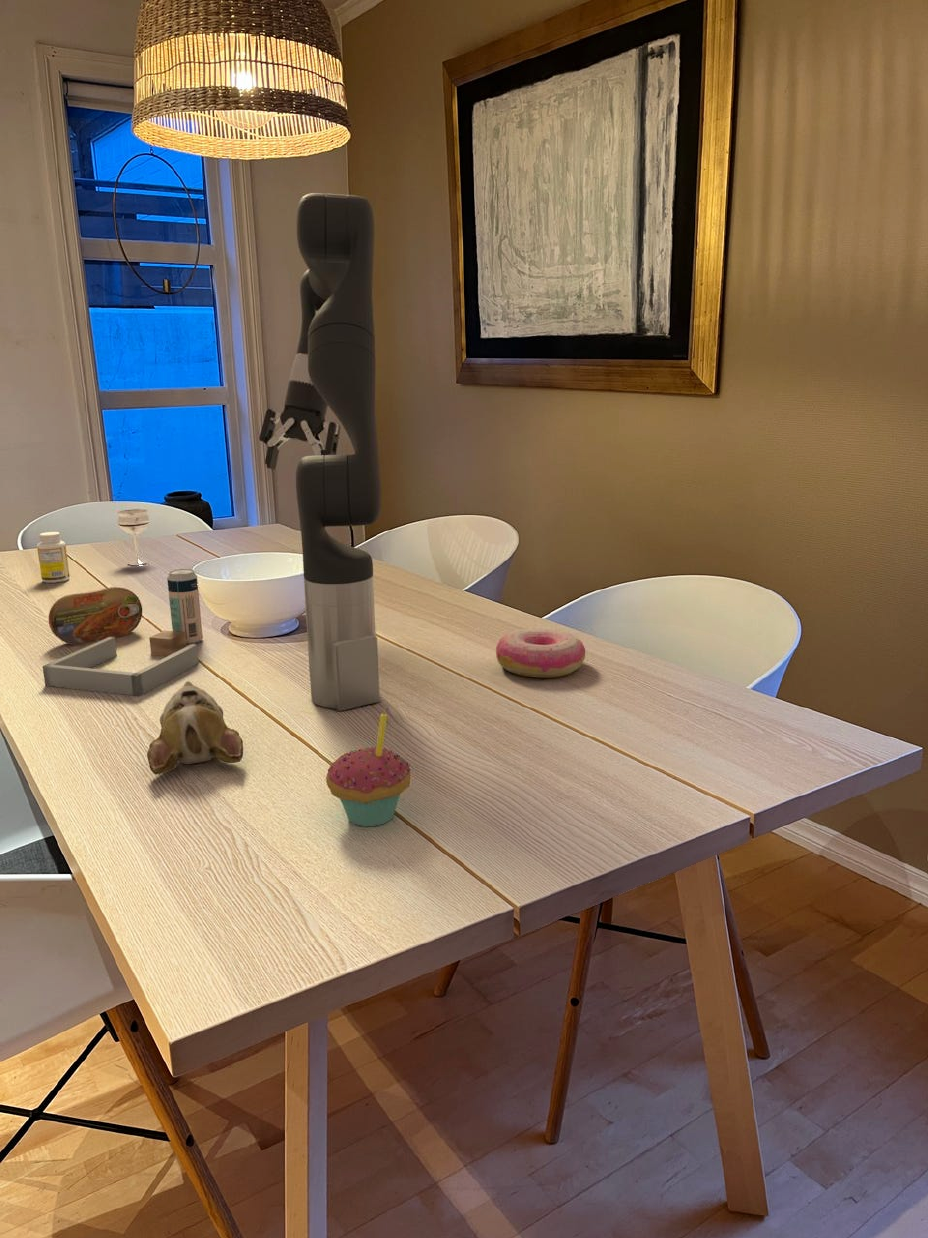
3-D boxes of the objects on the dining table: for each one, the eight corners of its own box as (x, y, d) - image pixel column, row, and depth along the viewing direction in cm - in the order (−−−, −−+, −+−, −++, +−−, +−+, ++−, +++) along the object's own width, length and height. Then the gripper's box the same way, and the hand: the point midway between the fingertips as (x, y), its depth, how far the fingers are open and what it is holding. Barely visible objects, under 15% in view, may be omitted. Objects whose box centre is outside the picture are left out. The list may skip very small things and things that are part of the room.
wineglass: (160, 562, 218) (154, 510, 215) (136, 567, 213) (130, 514, 210) (140, 559, 222) (134, 508, 219) (116, 564, 216) (110, 512, 213)
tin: (55, 649, 154) (48, 599, 152) (49, 645, 157) (42, 596, 154) (145, 632, 164) (140, 584, 161) (138, 628, 166) (133, 581, 164)
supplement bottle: (55, 576, 205) (48, 530, 202) (75, 578, 203) (69, 531, 201) (36, 582, 200) (29, 535, 197) (56, 584, 198) (50, 536, 196)
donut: (580, 686, 135) (581, 652, 133) (488, 681, 137) (488, 648, 136) (588, 656, 147) (588, 626, 146) (503, 652, 150) (503, 622, 148)
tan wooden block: (166, 648, 155) (164, 630, 154) (187, 649, 154) (185, 632, 153) (151, 655, 151) (149, 637, 150) (172, 657, 150) (170, 639, 149)
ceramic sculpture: (230, 663, 118) (242, 712, 105) (236, 726, 121) (248, 781, 107) (141, 674, 115) (141, 725, 102) (149, 738, 118) (150, 797, 104)
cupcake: (412, 796, 102) (409, 691, 98) (410, 835, 93) (407, 722, 90) (332, 798, 101) (326, 693, 98) (323, 838, 93) (316, 724, 90)
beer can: (207, 637, 159) (201, 568, 156) (197, 646, 155) (190, 574, 152) (180, 637, 160) (173, 568, 157) (169, 645, 155) (161, 574, 152)
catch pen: (111, 654, 151) (109, 636, 150) (198, 663, 146) (197, 644, 146) (45, 685, 137) (42, 666, 136) (139, 696, 133) (136, 675, 132)
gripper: (265, 372, 167) (246, 463, 168) (338, 386, 164) (318, 479, 165) (284, 382, 174) (266, 468, 176) (354, 395, 171) (335, 483, 172)
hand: (291, 473), depth 170 cm, fingers open, 8 cm apart
